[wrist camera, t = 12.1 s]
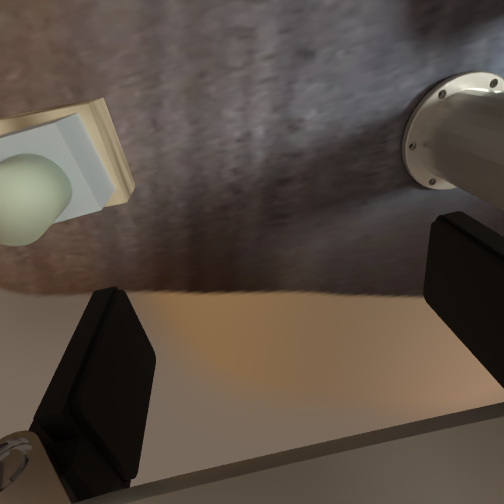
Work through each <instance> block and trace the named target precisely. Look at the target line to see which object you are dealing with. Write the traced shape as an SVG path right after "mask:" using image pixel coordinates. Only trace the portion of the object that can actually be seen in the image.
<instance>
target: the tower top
mask: <svg viewBox="0 0 504 504" xmlns="http://www.w3.org/2000/svg"><path fill="white" fill-rule="evenodd" d="M21 153H32V154H37V155H41V156H44V157H46V158H48V159H50V160H51V161H53V162H55V163H56V164H57V165H58V166H59V167H60V168H61V169H62V170H63V171H64V172H65V173H66V175H67V176H68V178H69V180H70V183H71V186H72V198H71V201H70V203H69V205H68V206H67V207H66V209H65V210H64V211H63V212H62V213H61V214H60V215H59V216H58V218H57V219H56V220H55V221H54V222H53V223H57V222H61V221H64V220H68V219H71V218H75V217H78V216H82V215H86V214H89V213H93V212H96V211H100V210H102V208H103V207H104V205H105V204H106V203H107V201H108V200H109V198H110V197H111V195H112V194H113V192H114V191H115V187H114V185H113V183H112V181H111V179H110V177H109V175H108V173H107V171H106V169H105V167H104V165H103V163H102V161H101V159H100V156H99V154H98V152H97V150H96V148H95V146H94V144H93V142H92V140H91V138H90V136H89V134H88V132H87V130H86V128H85V126H84V124H83V122H82V120H81V118H80V116H79V114H78V113H75V114H71V115H68V116H64V117H61V118H57V119H54V120H50V121H47V122H43V123H40V124H36V125H33V126H29V127H26V128H22V129H19V130H15V131H12V132H8V133H5V134H1V135H0V163H1V162H3V161H5V160H6V159H8V158H10V157H12V156H14V155H17V154H21ZM53 223H52V224H53Z"/></svg>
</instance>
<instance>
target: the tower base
mask: <svg viewBox="0 0 504 504" xmlns="http://www.w3.org/2000/svg"><path fill="white" fill-rule="evenodd" d="M75 113H78V114H79V116H80V118H81V120H82V122H83V124H84V126H85V128H86V130H87V132H88V134H89V136H90V138H91V140H92V142H93V144H94V146H95V148H96V150H97V152H98V154H99V156H100V159H101V161H102V163H103V165H104V167H105V169H106V171H107V173H108V175H109V177H110V179H111V181H112V183H113V185H114V187H115V191H114V192H113V194H112V195H111V197H110V198H109V200H108V201H107V203H106V204H105V205H104V207H107V206H112V205H117V204H122V203H127V201H128V199H129V197H130V196H131V194H132V192H133V190H134V188H135V183H134V180H133V178H132V175H131V172H130V169H129V167H128V164H127V161H126V158H125V156H124V153H123V150H122V147H121V145H120V142H119V139H118V136H117V134H116V131H115V128H114V125H113V123H112V120H111V117H110V114H109V112H108V109H107V106H106V103H105V101H104V98H98V99H93V100H88V101H83V102H77V103H72V104H67V105H62V106H56V107H51V108H46V109H41V110H36V111H30V112H25V113H20V114H15V115H10V116H6V117H3V118H0V135H1V134H5V133H8V132H12V131H15V130H19V129H22V128H26V127H29V126H33V125H36V124H40V123H43V122H47V121H50V120H54V119H57V118H61V117H64V116H68V115H71V114H75Z"/></svg>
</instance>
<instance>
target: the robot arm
mask: <svg viewBox="0 0 504 504" xmlns="http://www.w3.org/2000/svg"><path fill="white" fill-rule="evenodd" d="M438 94H439V95H438ZM402 158H403V162H404V165H405V168H406V170H407V171H408V173H409V175H410V176H411V177H412V178H413V179H414V180H415V181H417V182H418V183H420V184H421V185H423V186H425V187H428V188H431V189H436V190H448V189H453V188H460V189H462V190H464V191H466V192H468V193H470V194H472V195H474V196H476V197H478V198H480V199H481V200H483V201H485V202H487V203H489V204H491V205H493V206H495V207H497V208H499V209H501V210H503V211H504V79H503V78H502V77H501V76H498V75H496V74H494V73H491V72H484V71H469V72H464V73H459V74H457V75H454V76H452V77H450V78H447V79H446V80H444V81H443V82H441V83H440V84H438V85H437V86H435V87H434V88H433V89H432V90H431V91H430V92H429V93H427V94H426V96H425V97H424V98H423V99H422V100H421V101H420V103H419V104H418V105H417V107H416V108H415V110H414V111H413V113H412V115H411V116H410V119H409V121H408V123H407V125H406V128H405V132H404V135H403V141H402ZM423 294H424V298H425V300H426V302H427V303H428V304H429V306H430V307H431V308H432V309H433V310H434V311H435V312H436V313H437V315H438V316H439V317H440V318H441V319H442V320H443V321H444V322H445V323H446V324H447V326H448V327H449V328H450V329H451V330H452V331H453V332H454V334H455V335H456V336H457V337H458V338H459V339H460V340H461V341H462V342H463V344H464V345H465V346H466V347H467V348H468V349H469V350H470V351H471V352H472V354H473V355H474V356H475V357H476V358H477V359H478V360H479V361H480V363H481V364H482V365H483V366H484V367H485V368H486V369H487V370H488V371H489V372H490V374H491V375H492V376H493V377H494V378H495V379H496V380H497V382H498V383H499V384H500V385H501V386H502V387H503V388H504V237H503V236H501V235H500V234H498V233H496V232H495V231H493V230H491V229H490V228H488V227H486V226H485V225H483V224H481V223H480V222H478V221H476V220H475V219H473V218H472V217H470V216H468V215H467V214H465V213H463V212H461V211H457V212H453V213H448V214H444V215H440V216H438V217H437V219H436V221H434V222H433V223H432V224H431V229H430V238H429V246H428V255H427V263H426V272H425V280H424V289H423ZM155 365H156V356H155V352H154V350H153V348H152V346H151V344H150V342H149V339H148V338H147V335H146V333H145V331H144V329H143V327H142V325H141V323H140V321H139V319H138V317H137V315H136V313H135V311H134V309H133V307H132V305H131V303H130V300H129V299H128V296H127V294H126V293H125V291H124V290H118V288H117V287H110V288H105V289H101V290H96V291H94V293H93V294H92V296H91V298H90V301H89V303H88V305H87V307H86V309H85V311H84V313H83V315H82V317H81V319H80V321H79V324H78V326H77V328H76V330H75V332H74V334H73V336H72V338H71V340H70V342H69V344H68V346H67V349H66V351H65V353H64V355H63V357H62V359H61V361H60V363H59V365H58V368H57V369H56V372H55V374H54V376H53V378H52V380H51V382H50V384H49V386H48V388H47V391H46V393H45V395H44V397H43V399H42V401H41V403H40V405H39V407H38V409H37V411H36V413H35V416H34V418H33V419H34V420H33V422H32V424H31V426H30V428H29V430H28V431H27V430H25V431H18V432H14V433H12V434H10V435H7V436H5V437H3V438H1V439H0V504H504V402H502V403H498V404H493V405H489V406H484V407H480V408H475V409H470V410H466V411H461V412H457V413H452V414H448V415H443V416H438V417H434V418H429V419H425V420H420V421H416V422H411V423H407V424H403V425H398V426H393V427H389V428H385V429H380V430H375V431H371V432H367V433H362V434H358V435H353V436H349V437H344V438H340V439H336V440H331V441H327V442H322V443H318V444H313V445H309V446H305V447H300V448H295V449H291V450H287V451H282V452H278V453H274V454H269V455H265V456H260V457H256V458H252V459H247V460H243V461H239V462H234V463H230V464H226V465H221V466H217V467H213V468H208V469H204V470H200V471H196V472H191V473H187V474H182V475H178V476H174V477H170V478H166V479H162V480H158V481H154V482H150V483H146V484H142V485H138V486H134V487H130V482H131V479H134V478H135V477H136V475H137V473H138V468H139V461H140V456H141V450H142V444H143V438H144V431H145V426H146V419H147V413H148V407H149V401H150V395H151V389H152V383H153V377H154V371H155Z"/></svg>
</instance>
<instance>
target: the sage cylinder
mask: <svg viewBox="0 0 504 504" xmlns="http://www.w3.org/2000/svg"><path fill="white" fill-rule="evenodd" d="M71 198H72V186H71V183H70V180H69V178H68V176H67V175H66V173H65V172H64V171H63V170H62V169H61V168H60V167H59V166H58V165H57V164H56V163H55V162H53V161H51V160H50V159H48V158H46V157H44V156H41V155H37V154H32V153H21V154H17V155H14V156H12V157H10V158H8V159H6V160H5V161H3V162H1V163H0V244H2V245H7V246H23V245H28V244H30V243H33V242H34V241H36V240H37V239H39V238H40V237H41V236H42V235H43V233H44V232H45V231H46V230H47V229H48V228H49V227H50V225H51V224H52V223H53V222H54V221H55V220H56V219H57V218H58V216H59V215H60V214H61V213H62V212H63V211H64V210H65V209H66V207H67V206H68V205H69V203H70V201H71Z"/></svg>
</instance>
